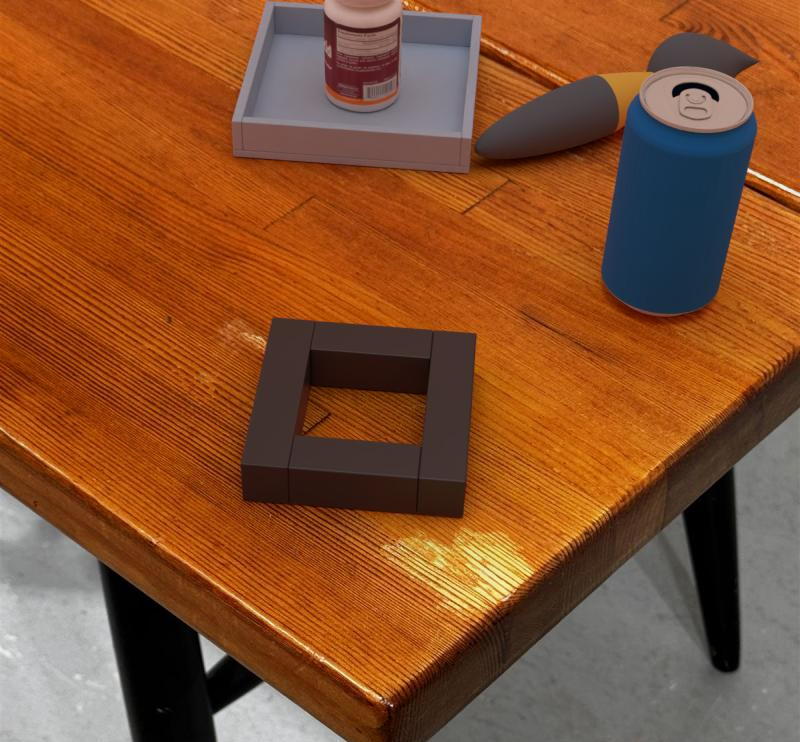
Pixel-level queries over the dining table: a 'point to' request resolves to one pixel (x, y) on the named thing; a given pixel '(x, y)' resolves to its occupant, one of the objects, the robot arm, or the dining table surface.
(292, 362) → the frame
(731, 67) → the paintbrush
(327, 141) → the tray
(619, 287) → the beverage can
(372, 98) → the pill bottle
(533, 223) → the dining table surface
